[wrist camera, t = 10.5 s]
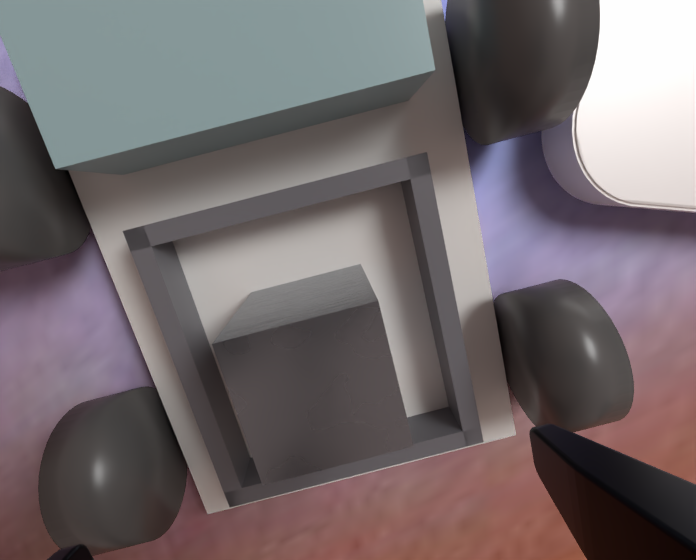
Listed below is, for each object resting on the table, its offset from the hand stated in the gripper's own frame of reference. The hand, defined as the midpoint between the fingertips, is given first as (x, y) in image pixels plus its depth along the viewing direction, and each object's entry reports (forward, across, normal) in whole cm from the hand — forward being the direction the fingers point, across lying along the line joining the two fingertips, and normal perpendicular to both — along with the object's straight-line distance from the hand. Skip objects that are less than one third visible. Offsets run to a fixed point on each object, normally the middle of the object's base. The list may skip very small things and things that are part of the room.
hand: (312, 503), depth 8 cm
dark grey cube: (+10, 0, 0) cm, 10 cm away
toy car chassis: (+11, 0, -3) cm, 12 cm away
